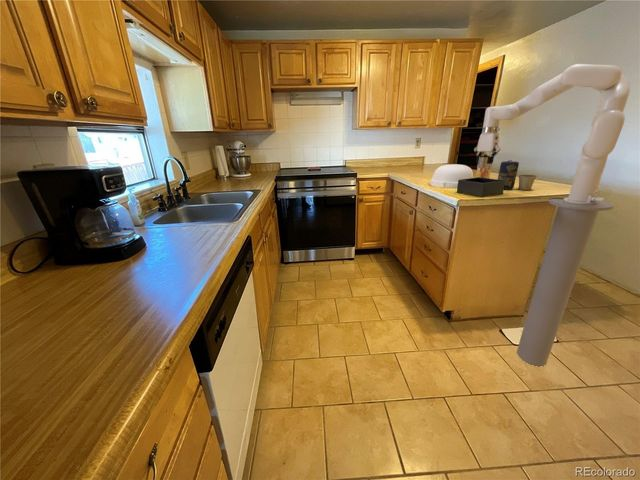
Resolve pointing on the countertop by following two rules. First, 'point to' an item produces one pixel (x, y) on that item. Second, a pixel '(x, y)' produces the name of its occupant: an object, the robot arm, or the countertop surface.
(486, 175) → the candy box
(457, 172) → the dome cover
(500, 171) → the canister
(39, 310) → the countertop surface
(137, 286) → the countertop surface
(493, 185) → the dark gray open box
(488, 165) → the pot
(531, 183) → the flower pot
